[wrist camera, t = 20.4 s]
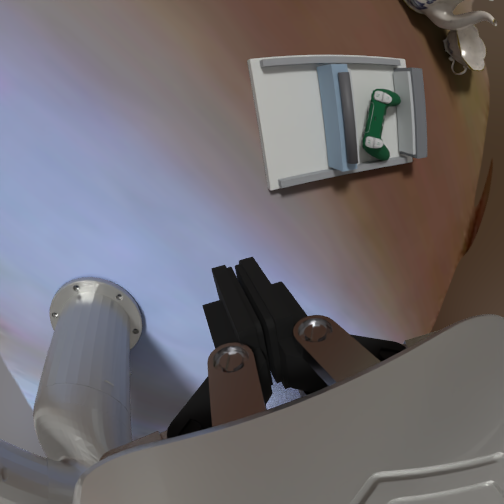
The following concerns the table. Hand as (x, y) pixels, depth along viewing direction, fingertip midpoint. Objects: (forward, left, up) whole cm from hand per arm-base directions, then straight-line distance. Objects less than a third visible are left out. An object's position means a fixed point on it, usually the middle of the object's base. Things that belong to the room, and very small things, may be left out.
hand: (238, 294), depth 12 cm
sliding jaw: (+4, -18, -22) cm, 28 cm away
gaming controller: (+3, -24, -22) cm, 33 cm away
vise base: (+4, -20, -23) cm, 31 cm away
